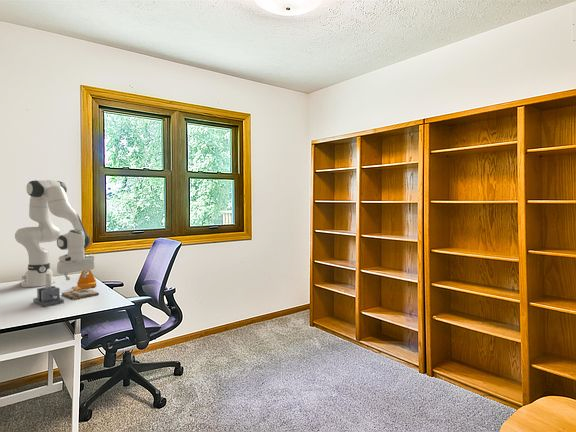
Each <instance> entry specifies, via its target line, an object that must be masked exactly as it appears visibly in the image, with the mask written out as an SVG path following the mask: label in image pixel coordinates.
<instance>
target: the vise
mask: <svg viewBox="0 0 576 432" xmlns="http://www.w3.org/2000/svg"><path fill="white" fill-rule="evenodd" d="M36 289H37V291H36V293H37V294H36V295H37V296H36V297H35V298H33V299H32V300H33V303H34V304H36V305H38V306H40V307H43V308H46V307H50V305H51V306H56V305H60V303H61V304H64V303H65V301H64V298H61V297H60V295H61V294H60V292H61V291H60V287H57V286H54V285H52V284H51V274H46V285H45V286H43V287H38V288H36ZM55 304H56V305H55Z"/></svg>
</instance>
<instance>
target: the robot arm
mask: <svg viewBox="0 0 576 432" xmlns="http://www.w3.org/2000/svg"><path fill="white" fill-rule="evenodd" d="M67 192H68V189H67V185H66V183H65V182H63V181H59V180H57V181H56V180H50V179H49V180H48V179H47V180H46V179H45V180H35V179H34V180H30V181H28V183H27V184H26V193H27V194H28V196H30V198H29V205H28V206H29V208H28V216H29V218H30V220H31V221H34V222H36V223H38V226H26V227H25V226H24V227H22V228H18V229H17V230H16V232H15V233H14V239H15V241H16V242H17V243H18V244H20V245H22V247H24V248H25V250H26V251H27V256H28V265H27V270H26V272H25V273H24V275H22V276H21V278H22V280H23V281H20V285H21V287H22V288H27V287H28V288H29V287H30V288H35V287H38V288H39V287H46V274H51V285H52V284H54V283H56V280H55V279H54V273H53V270H52V269H51V263H50V252H49V251H48V249H46V248H45V247H41V246H40V244H43V243H44V244H45V243H51V242H55V241H56V247H58V248H59V249H60V250H63V251H67V253H65V254H63V255H61V256H59V257H58V260H59V261H58V262H57V266H56V273H57V274H59V275H63V276H64V277H65V280H66V281H70V280H71V278H70V276H68V275H69V274H71V273H77V272H82V271H84V275H83V278H86V275H87V274H89V272H88V270H91V271H92V270H94V269H95V256H94V255H92V254H87V255H85V254H86V250H85V249H87V247H88V246H89V245H90V243H91V238H90V236H89V234H88V233H87V231H86V228H85V227H84V224H83V222H82V220H81V217H80V216H79V213H78V211H76V210H75V209H74V208H72V206H71V204H70V202H69V198H68V196H67ZM50 214H52V215H53V216H55V217H57V218H61V219H64V220H67V221H69V222H70V223H71V224H72V227H73V229H69V230H68V232H66V233H64V234H61V230H60V228H59V227H58V226H56V225H55V223H53V222H52V219H51V215H50Z"/></svg>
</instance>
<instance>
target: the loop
mask: <svg viewBox="0 0 576 432" xmlns="http://www.w3.org/2000/svg"><path fill="white" fill-rule="evenodd" d="M71 288H72V291H73V294H74V295H76V296H83V295H88V294H93V291H94V290H92V291H91V289H89V288H85V289H84V290H82V288H80V287H77V285H76V286H72V287H71ZM88 289H89V290H88Z"/></svg>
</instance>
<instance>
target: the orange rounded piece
mask: <svg viewBox="0 0 576 432" xmlns="http://www.w3.org/2000/svg"><path fill="white" fill-rule="evenodd" d="M84 273H85V272H84V271H81V273H80V274H79V277H78V280H77V283H76V286H77V287H80V288H82V289H93V288H92V287H97V281H96V278H95V276H94V274H93V272H92V270H88V273H87V275H86V278H83V275H84Z"/></svg>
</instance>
